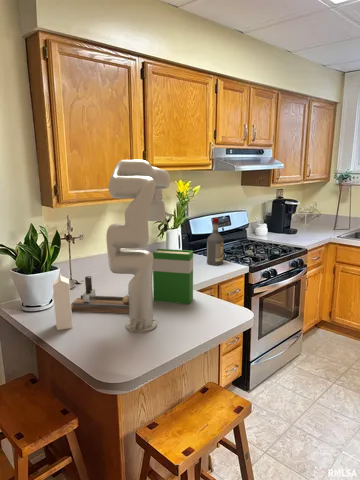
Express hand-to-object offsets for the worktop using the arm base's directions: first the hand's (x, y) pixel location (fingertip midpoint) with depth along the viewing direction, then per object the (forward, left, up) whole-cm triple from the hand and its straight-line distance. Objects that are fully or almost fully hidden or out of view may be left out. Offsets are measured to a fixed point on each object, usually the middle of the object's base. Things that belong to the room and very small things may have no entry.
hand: (155, 231), depth 181 cm
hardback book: (-14, -11, -31) cm, 36 cm away
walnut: (-27, +9, -26) cm, 39 cm away
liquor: (+50, -29, -31) cm, 65 cm away
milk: (-47, +29, -31) cm, 63 cm away
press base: (-27, +18, -30) cm, 45 cm away
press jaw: (-27, +26, -28) cm, 47 cm away
